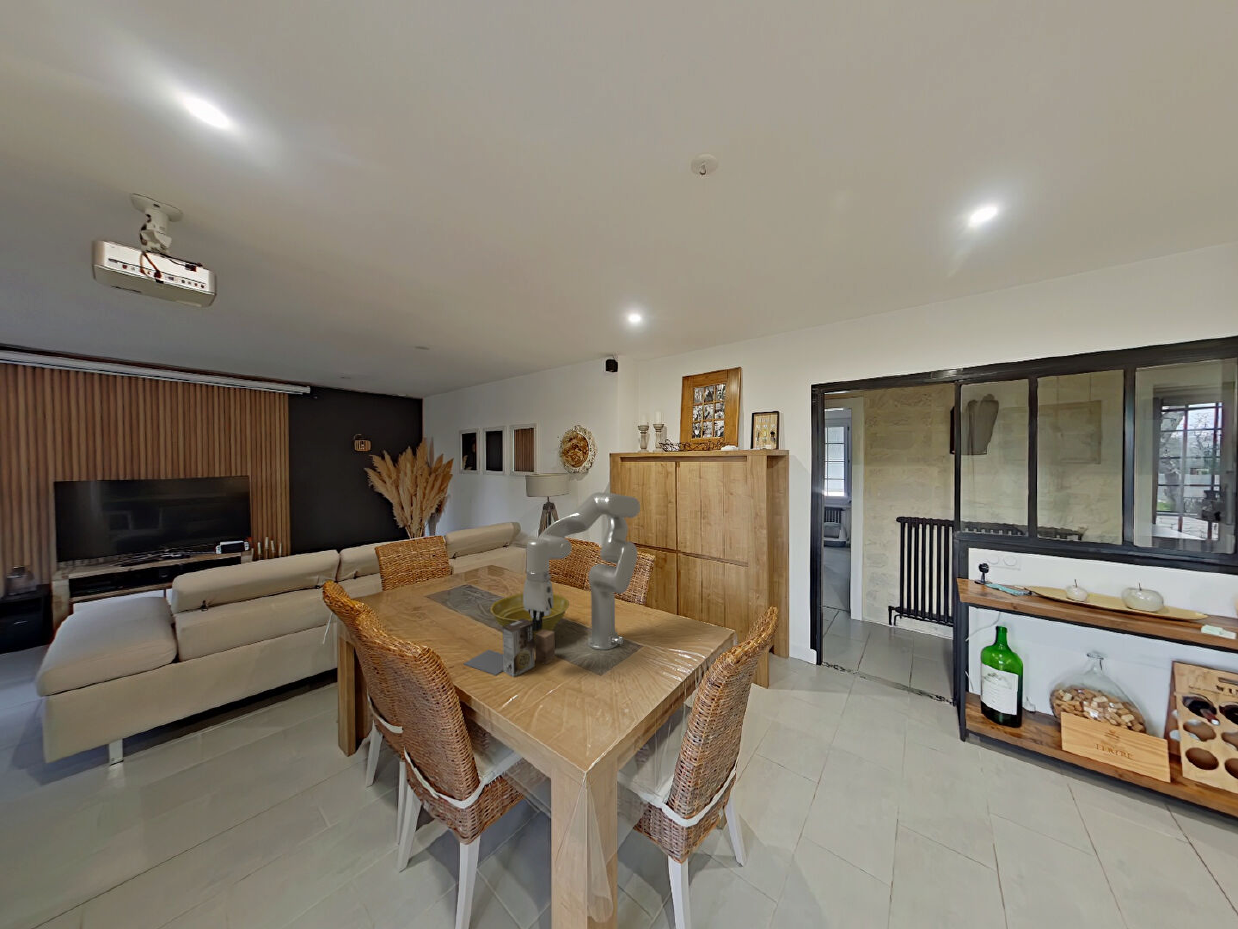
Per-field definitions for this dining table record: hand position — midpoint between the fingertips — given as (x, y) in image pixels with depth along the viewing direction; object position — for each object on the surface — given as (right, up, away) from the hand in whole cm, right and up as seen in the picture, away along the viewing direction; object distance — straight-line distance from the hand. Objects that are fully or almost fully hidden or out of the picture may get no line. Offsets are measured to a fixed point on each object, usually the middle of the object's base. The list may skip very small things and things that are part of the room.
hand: (537, 629), depth 138 cm
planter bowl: (-9, -16, +31) cm, 36 cm away
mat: (-18, -16, +10) cm, 26 cm away
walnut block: (+1, -16, +11) cm, 20 cm away
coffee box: (-7, -16, +5) cm, 19 cm away
